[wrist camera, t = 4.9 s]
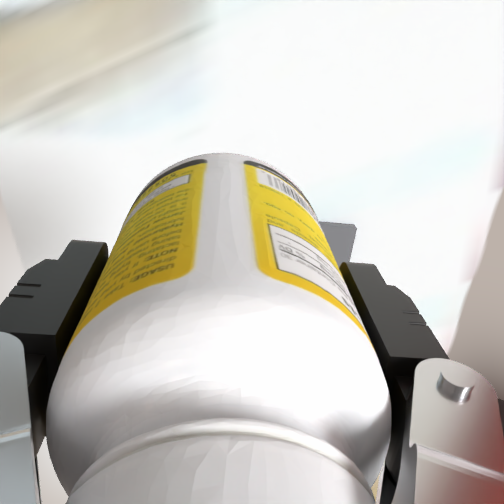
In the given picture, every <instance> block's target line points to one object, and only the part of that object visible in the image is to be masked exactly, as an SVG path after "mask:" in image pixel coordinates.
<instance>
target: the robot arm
mask: <svg viewBox="0 0 504 504" xmlns="http://www.w3.org/2000/svg"><path fill="white" fill-rule="evenodd" d="M107 261H108V246H107V244H106V243H105V242H93V241H80V240H72V241H71V242H70V243H69V245H68V246H67V248H66V249H65V251H64V252H63V254H62V255H61V256H60V258H59V259H58V260H51V259H45V260H43V261H42V262H40V263H38V264H36V265H35V266H33V267H31V268H30V269H28V270H27V271H26V272H25V274H24V275H23V276H22V277H21V279H20V280H19V281H18V283H17V286H15V287H14V288H13V289H12V291H11V292H10V293H9V297H6V299H5V300H4V301H3V302H2V304H1V305H0V504H42V500H41V490H40V481H39V469H38V460H37V453H38V451H39V449H40V446H41V444H42V442H43V439H44V437H45V436H46V411H47V405H48V400H49V395H50V392H51V388H52V385H53V382H54V380H55V377H56V374H57V372H58V369H59V366H60V363H61V361H62V358H63V356H64V354H65V352H66V349H67V347H68V345H69V343H70V341H71V338H72V336H73V334H74V332H75V330H76V328H77V326H78V324H79V322H80V320H81V317H82V315H83V313H84V311H85V308H86V306H87V304H88V302H89V300H90V297H91V295H92V293H93V291H94V289H95V287H96V285H97V282H98V280H99V278H100V276H101V273H102V271H103V269H104V267H105V265H106V263H107ZM339 270H340V272H341V274H342V277H343V279H344V281H345V284H346V286H347V288H348V291H349V293H350V295H351V297H352V300H353V302H354V305H355V307H356V309H357V312H358V314H359V316H360V318H361V320H362V323H363V325H364V328H365V330H366V332H367V334H368V336H369V339H370V341H371V343H372V345H373V348H374V350H375V352H376V355H377V357H378V360H379V363H380V366H381V368H382V371H383V374H384V377H385V380H386V383H387V386H388V390H389V395H390V401H391V425H392V426H391V437H390V443H389V447H388V451H387V455H386V458H385V461H384V464H383V467H382V470H381V473H380V477H379V483H378V490H377V497H376V504H504V401H503V400H501V399H498V398H497V394H496V391H495V389H494V387H493V386H492V385H491V383H490V382H489V381H488V380H487V379H486V378H485V377H484V376H483V375H481V374H480V373H479V372H477V371H475V370H474V369H472V368H470V367H468V366H466V365H464V364H462V363H459V362H456V361H453V360H450V359H449V358H448V356H447V355H446V353H445V351H444V350H443V348H442V347H441V345H440V344H439V342H438V340H437V339H436V337H435V336H434V334H433V333H432V331H431V329H430V328H429V326H426V322H425V320H424V319H423V317H422V315H421V314H419V311H418V309H417V308H416V306H415V304H414V303H413V301H412V300H411V298H410V297H408V296H407V295H406V294H404V293H403V292H402V291H401V290H399V289H398V288H397V287H395V286H390V285H386V283H385V281H384V279H383V278H382V276H381V274H380V273H379V271H378V269H377V267H376V266H375V265H374V264H365V263H352V262H342V263H341V265H340V267H339Z"/></svg>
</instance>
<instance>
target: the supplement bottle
mask: <svg viewBox="0 0 504 504" xmlns="http://www.w3.org/2000/svg"><path fill="white" fill-rule="evenodd" d="M391 426H392V425H391V401H390V395H389V390H388V386H387V383H386V380H385V377H384V374H383V371H382V368H381V366H380V363H379V360H378V357H377V355H376V352H375V350H374V348H373V345H372V343H371V341H370V339H369V336H368V334H367V332H366V330H365V328H364V325H363V323H362V320H361V318H360V316H359V314H358V312H357V309H356V307H355V305H354V302H353V300H352V297H351V295H350V293H349V291H348V288H347V286H346V284H345V281H344V279H343V277H342V274H341V272H340V270H339V268H338V265H337V263H336V261H335V258H334V256H333V254H332V251H331V249H330V247H329V244H328V242H327V240H326V238H325V235H324V232H323V230H322V228H321V226H320V224H319V222H318V219H317V217H316V215H315V212H314V210H313V208H312V207H311V205H310V203H309V202H308V200H307V199H306V197H305V196H304V194H303V193H302V191H301V190H300V189H299V188H298V186H297V185H296V184H295V183H294V182H293V181H292V180H291V179H290V178H288V177H287V176H286V175H285V174H283V173H282V172H281V171H279V170H278V169H276V168H275V167H273V166H271V165H269V164H268V163H265V162H263V161H261V160H258V159H255V158H252V157H249V156H244V155H240V154H232V153H212V154H204V155H199V156H194V157H191V158H188V159H185V160H182V161H180V162H178V163H176V164H174V165H172V166H170V167H168V168H167V169H165V170H163V171H162V172H161V173H159V174H158V175H157V176H155V177H154V178H153V179H152V180H151V181H150V182H149V183H148V184H147V185H146V186H145V188H144V189H143V190H142V191H141V193H140V194H139V195H138V197H137V199H136V200H135V202H134V203H133V205H132V207H131V209H130V211H129V213H128V215H127V217H126V219H125V221H124V223H123V226H122V229H121V231H120V234H119V236H118V238H117V241H116V243H115V245H114V247H113V249H112V251H111V254H110V256H109V258H108V261H107V263H106V265H105V267H104V269H103V271H102V273H101V276H100V278H99V280H98V282H97V285H96V287H95V289H94V291H93V293H92V295H91V297H90V300H89V302H88V304H87V306H86V308H85V311H84V313H83V315H82V317H81V320H80V322H79V324H78V326H77V328H76V330H75V332H74V334H73V336H72V338H71V341H70V343H69V345H68V347H67V349H66V352H65V354H64V356H63V358H62V361H61V363H60V366H59V369H58V372H57V374H56V377H55V380H54V382H53V385H52V388H51V392H50V395H49V400H48V405H47V411H46V437H47V445H48V450H49V454H50V458H51V461H52V464H53V467H54V470H55V472H56V474H57V477H58V479H59V481H60V483H61V485H62V486H63V488H64V490H65V491H66V493H67V495H68V496H69V498H68V500H67V502H66V504H375V499H374V496H373V493H372V490H371V487H372V486H373V484H374V483H375V481H376V479H377V477H378V475H379V473H380V471H381V468H382V466H383V463H384V461H385V458H386V455H387V451H388V447H389V443H390V437H391Z"/></svg>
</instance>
